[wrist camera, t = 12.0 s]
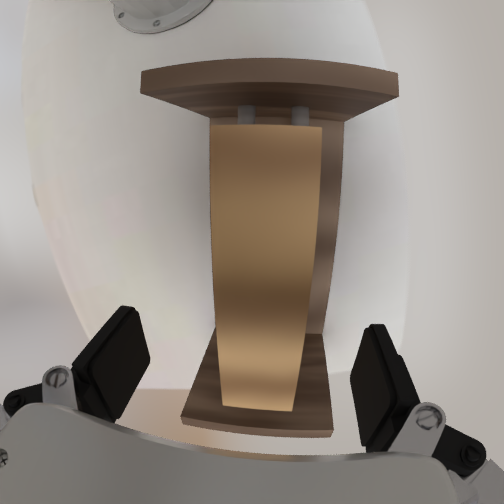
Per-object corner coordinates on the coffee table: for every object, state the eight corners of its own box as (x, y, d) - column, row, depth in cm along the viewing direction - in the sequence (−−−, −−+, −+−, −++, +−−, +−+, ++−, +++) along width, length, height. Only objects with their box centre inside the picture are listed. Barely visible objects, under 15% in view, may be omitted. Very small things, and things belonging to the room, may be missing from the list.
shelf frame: (212, 107, 24) (141, 71, 11) (341, 110, 22) (397, 73, 9) (218, 329, 32) (182, 424, 19) (319, 336, 31) (330, 437, 18)
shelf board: (233, 133, 17) (209, 125, 12) (310, 135, 17) (322, 127, 11) (236, 354, 24) (222, 405, 18) (292, 358, 23) (291, 411, 17)
